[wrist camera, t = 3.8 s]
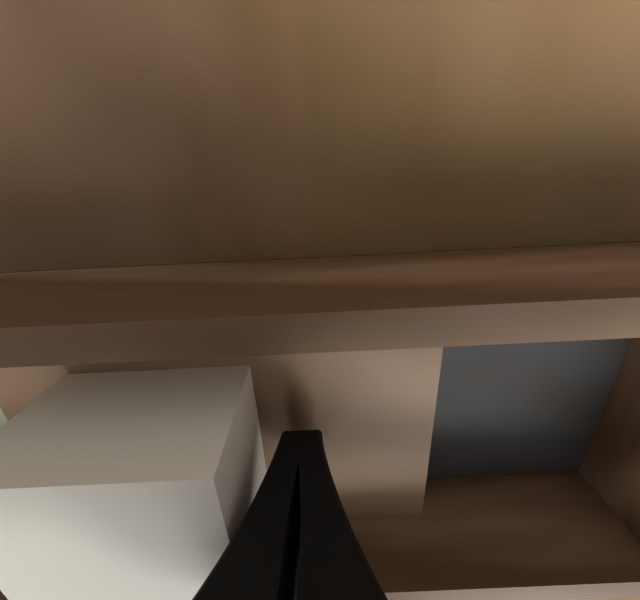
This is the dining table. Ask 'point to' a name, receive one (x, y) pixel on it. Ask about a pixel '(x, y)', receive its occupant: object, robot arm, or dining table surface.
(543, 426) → the trap box
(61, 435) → the cream block
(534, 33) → the dining table surface
